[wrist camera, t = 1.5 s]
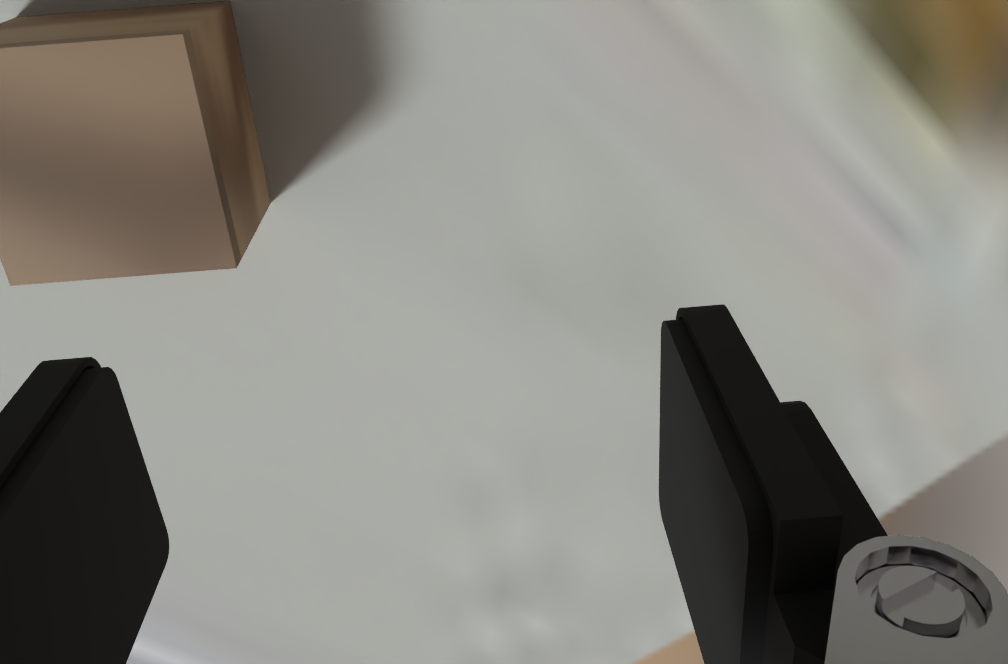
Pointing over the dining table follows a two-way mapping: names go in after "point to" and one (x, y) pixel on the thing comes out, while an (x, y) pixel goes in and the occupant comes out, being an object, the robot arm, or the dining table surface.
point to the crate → (126, 144)
